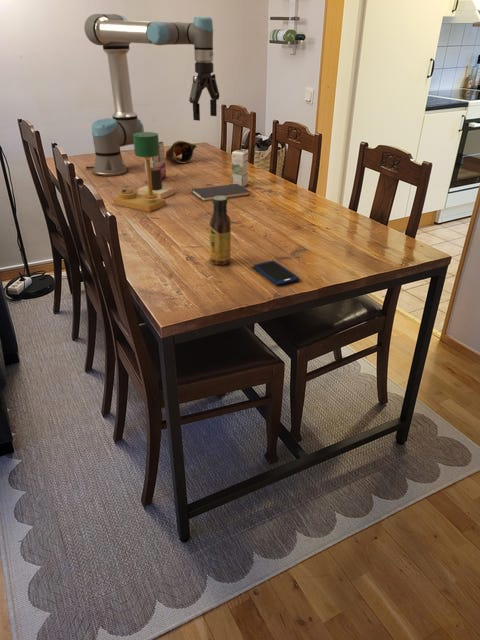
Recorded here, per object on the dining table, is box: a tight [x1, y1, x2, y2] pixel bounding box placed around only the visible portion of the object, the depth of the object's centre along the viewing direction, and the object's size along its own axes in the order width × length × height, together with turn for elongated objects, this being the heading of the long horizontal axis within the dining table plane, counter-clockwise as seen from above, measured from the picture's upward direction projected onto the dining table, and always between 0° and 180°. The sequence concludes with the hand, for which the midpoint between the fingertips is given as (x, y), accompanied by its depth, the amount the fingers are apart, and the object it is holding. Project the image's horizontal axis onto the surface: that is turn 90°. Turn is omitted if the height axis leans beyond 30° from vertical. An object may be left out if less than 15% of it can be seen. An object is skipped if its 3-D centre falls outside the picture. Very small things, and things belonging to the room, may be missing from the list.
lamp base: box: [113, 189, 167, 213], centre depth 190 cm, size 18×10×4 cm, turn 60°
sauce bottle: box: [208, 196, 232, 266], centre depth 140 cm, size 7×6×20 cm
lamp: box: [133, 131, 160, 199], centre depth 180 cm, size 9×9×23 cm
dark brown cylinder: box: [151, 167, 163, 190], centre depth 199 cm, size 6×6×8 cm
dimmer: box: [136, 184, 175, 199], centre depth 201 cm, size 12×10×3 cm
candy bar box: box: [143, 140, 167, 183], centre depth 217 cm, size 11×5×16 cm, turn 161°
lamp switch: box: [121, 185, 133, 194], centre depth 191 cm, size 4×4×2 cm
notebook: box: [191, 183, 250, 202], centre depth 203 cm, size 13×2×21 cm
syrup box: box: [231, 149, 249, 188], centre depth 212 cm, size 6×6×14 cm
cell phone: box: [252, 260, 300, 286], centre depth 138 cm, size 7×14×1 cm, turn 30°
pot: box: [165, 140, 199, 164], centre depth 251 cm, size 17×11×18 cm
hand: (205, 118), depth 206 cm, fingers open, 13 cm apart
